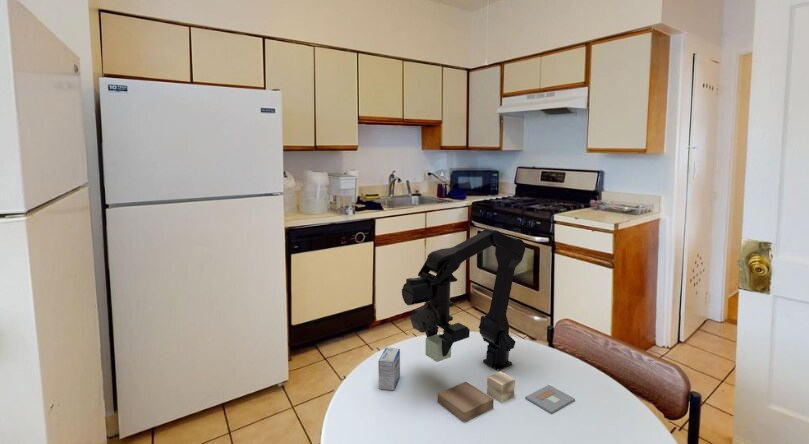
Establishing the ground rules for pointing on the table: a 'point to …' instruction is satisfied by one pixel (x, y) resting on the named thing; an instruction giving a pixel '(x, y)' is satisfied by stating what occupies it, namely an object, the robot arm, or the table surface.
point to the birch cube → (500, 386)
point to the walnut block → (465, 401)
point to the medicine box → (389, 368)
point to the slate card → (550, 399)
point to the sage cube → (435, 348)
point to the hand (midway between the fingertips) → (438, 352)
